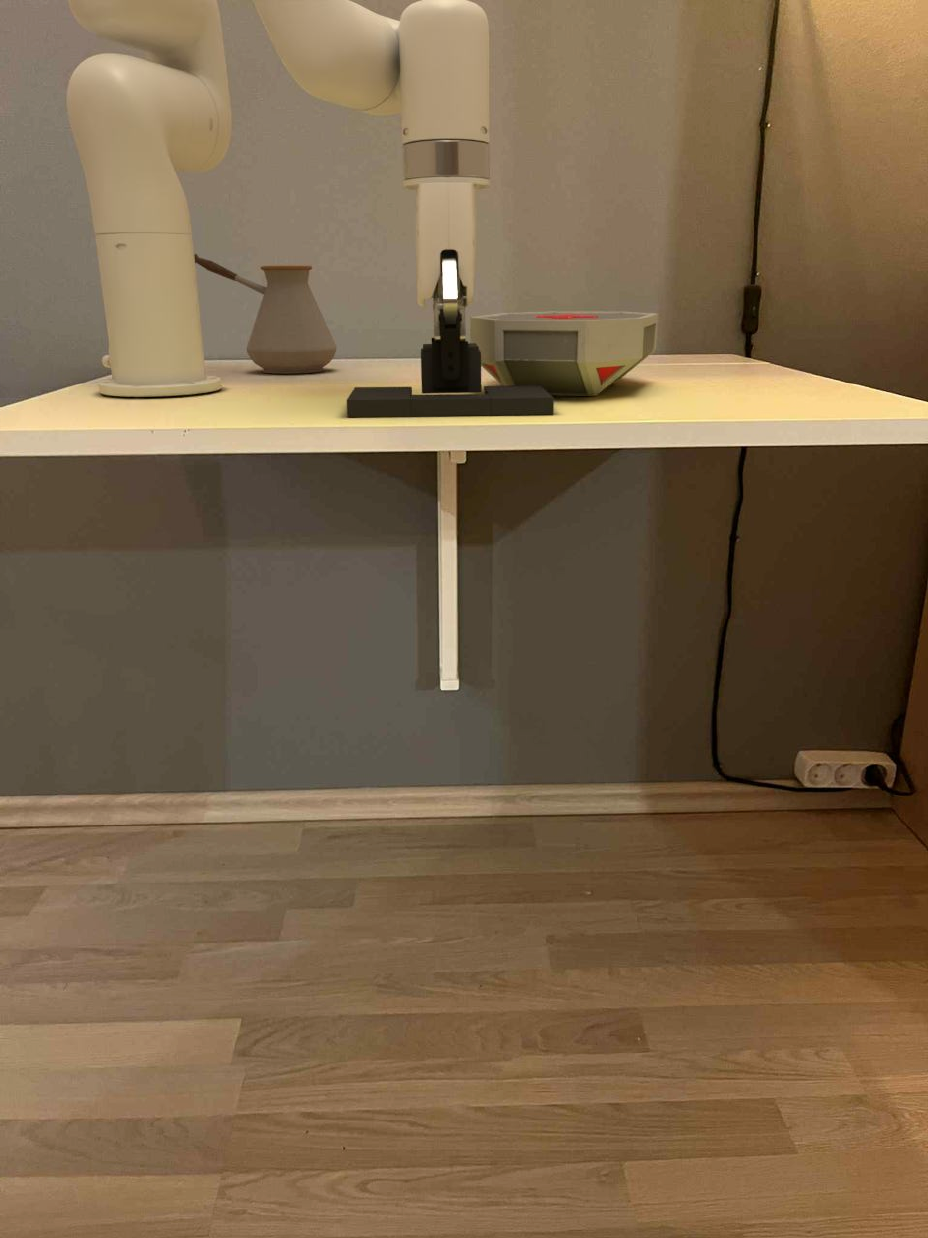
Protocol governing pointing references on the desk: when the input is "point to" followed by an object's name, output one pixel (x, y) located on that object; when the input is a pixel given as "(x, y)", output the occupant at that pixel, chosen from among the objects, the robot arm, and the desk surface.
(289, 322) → the coffee pot
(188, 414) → the desk surface
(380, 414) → the base pad
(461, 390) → the black squarish block
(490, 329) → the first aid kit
